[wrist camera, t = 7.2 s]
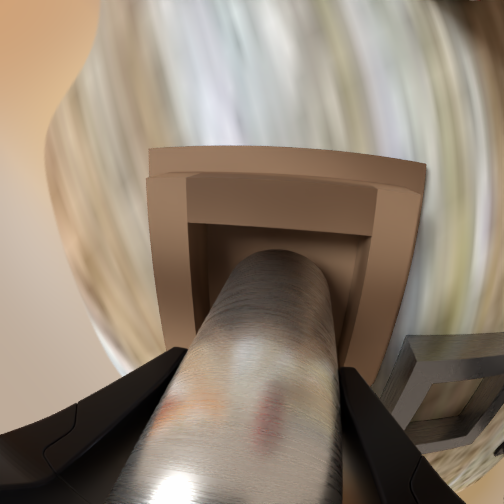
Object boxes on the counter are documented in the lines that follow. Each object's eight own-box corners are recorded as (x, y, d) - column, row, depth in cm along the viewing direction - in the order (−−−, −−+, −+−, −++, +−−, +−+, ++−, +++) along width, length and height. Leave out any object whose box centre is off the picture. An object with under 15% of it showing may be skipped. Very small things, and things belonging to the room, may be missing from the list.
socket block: (464, 425, 14) (471, 443, 12) (360, 436, 16) (362, 460, 14) (521, 330, 11) (536, 349, 9) (406, 335, 12) (417, 361, 10)
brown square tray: (372, 378, 14) (378, 411, 11) (173, 357, 15) (156, 385, 13) (422, 163, 10) (449, 169, 7) (153, 148, 11) (121, 151, 9)
